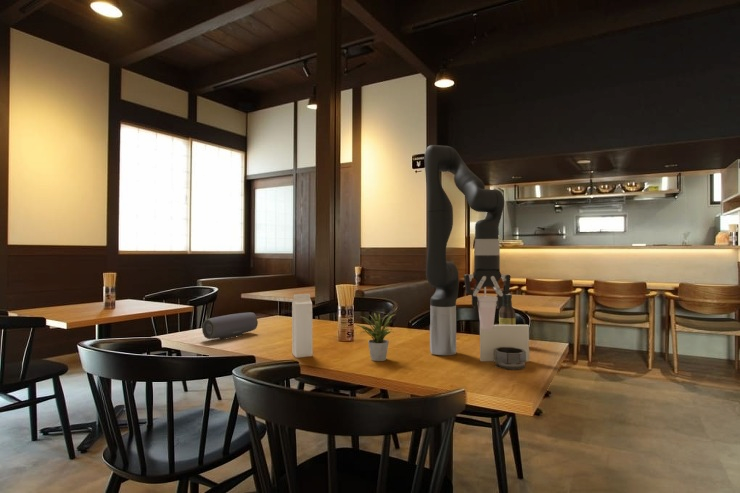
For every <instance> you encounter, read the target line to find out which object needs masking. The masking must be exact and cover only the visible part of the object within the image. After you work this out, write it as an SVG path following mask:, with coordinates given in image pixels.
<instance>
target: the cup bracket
mask: <svg viewBox="0 0 740 493" xmlns="http://www.w3.org/2000/svg"><path fill="white" fill-rule="evenodd" d="M494 359H495V361H494V366H495V367H496V368H498V369H502V370H507V371H518V370H519V371H520V370H524V369H525V368H526V362H527V361H526V351H524V350H523V349H520V348H514V347H498V348H495V349H494Z"/></svg>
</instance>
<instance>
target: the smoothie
mask: <svg viewBox="0 0 740 493" xmlns="http://www.w3.org/2000/svg"><path fill="white" fill-rule="evenodd" d="M483 289H484V291H483V293H484V295H477V310H478V318H479V327H480V326H481V329H487V330H490V329H493V326H494V325H495V324H494V323H495V319H496V318H495V317H496V316H495V315H496V309H497V307H496V302H497V301H498V298H497V297H496V296H494V295H492V296H491V295H487V287H483Z"/></svg>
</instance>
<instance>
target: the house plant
mask: <svg viewBox="0 0 740 493" xmlns="http://www.w3.org/2000/svg"><path fill="white" fill-rule="evenodd" d="M373 314H374V318H373V316H371V315H370V317H371V319H372V321H371V320H370V319H368V318H367V317H364V316H362V319H363V320H364V321H365V322H366V323H367V324H368V326H370V327H371V328H369V327H368V326H365V325H363V324H362V325H361V324H356V326H357V327H360V328H359V329H362V330H363V331H361V332H360V334H362V333H366V334H368V335H369V336H370V337H371V338H372V339H370V340H368V341H367V343H368V349H369V354H370V359H371V361H373V362H384V361H386V360H387V357H388V356H387V355H388V349H389V348H388V347H389V342H390V341H389V340H388V339H385V337H386V336H387V335H388V334H391V333H393V330H392V329H391V328H389V329H388V328H387V327H388V326H389V325H390V323H391V322H390V321H391V318H392V317H393V316H395V315H396V314H395V313H394V314H391V315H389V314H387V315H384V317H383V318H382V319H381V315H380V313H378V316H377V314H376V313H375V312H374V313H373ZM359 317H360V318H361V315H360V316H359ZM384 320H385V321H384ZM383 323H384V324H383ZM382 325H383V326H382Z"/></svg>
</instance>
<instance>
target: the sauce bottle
mask: <svg viewBox="0 0 740 493" xmlns="http://www.w3.org/2000/svg"><path fill="white" fill-rule="evenodd" d="M512 297H513V296H512V293H509V294H506V295H503V297H502V307H501V308H500V309H499V310H498V322H499V323H498V325H517V324H516V323H517V322H516V321H517V320H516V311H515V308H513V303H512Z"/></svg>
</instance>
